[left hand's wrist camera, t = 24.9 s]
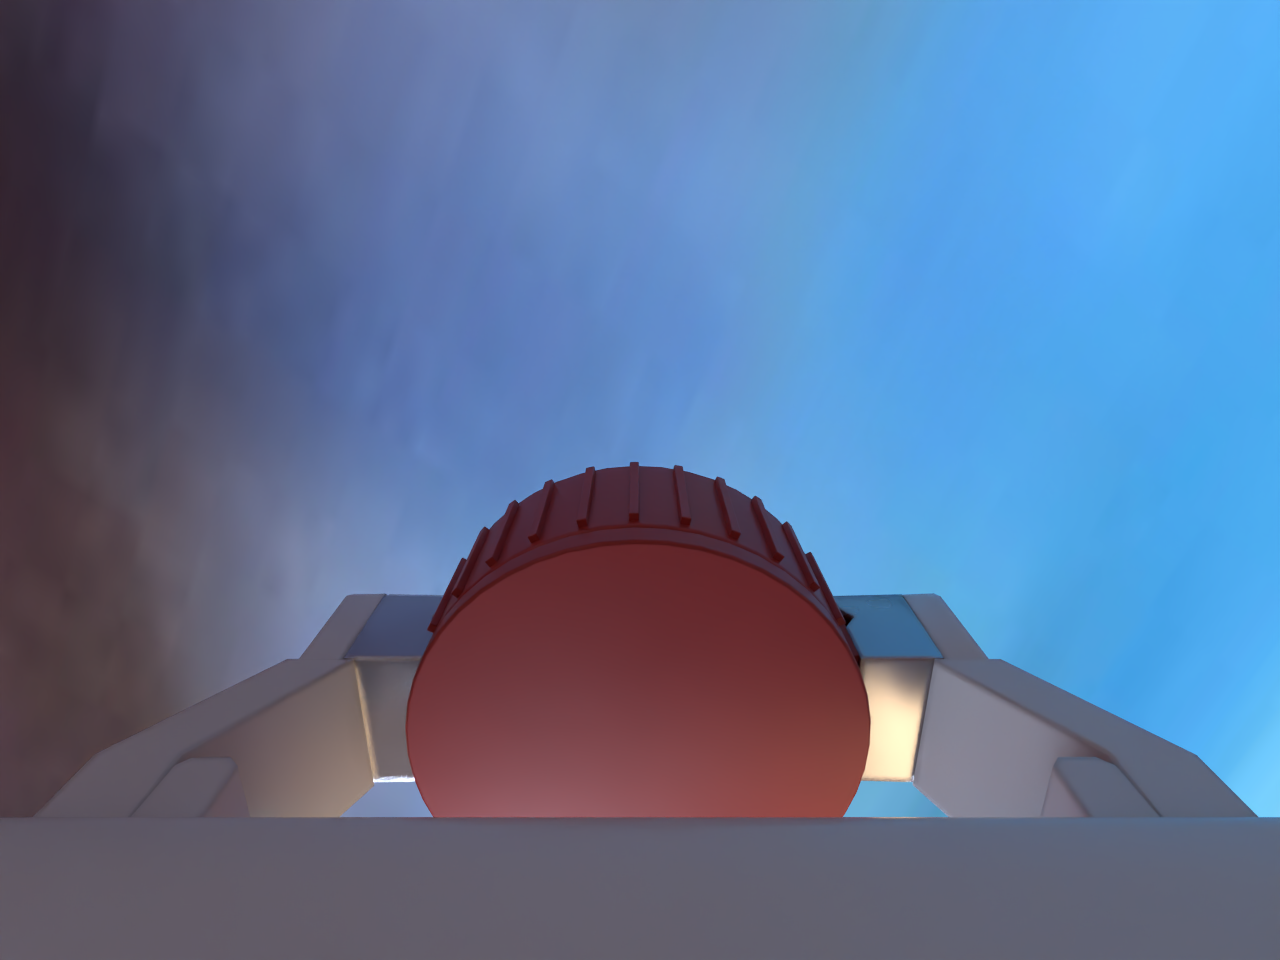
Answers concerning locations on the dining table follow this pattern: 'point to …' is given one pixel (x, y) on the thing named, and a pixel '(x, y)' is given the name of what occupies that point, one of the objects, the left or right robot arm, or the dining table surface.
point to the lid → (638, 662)
